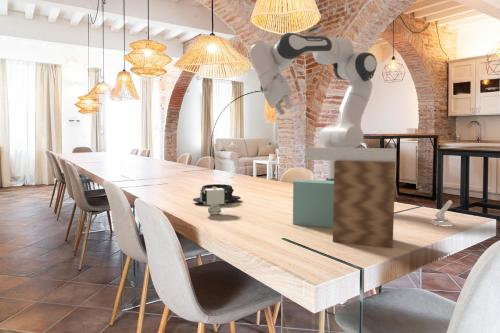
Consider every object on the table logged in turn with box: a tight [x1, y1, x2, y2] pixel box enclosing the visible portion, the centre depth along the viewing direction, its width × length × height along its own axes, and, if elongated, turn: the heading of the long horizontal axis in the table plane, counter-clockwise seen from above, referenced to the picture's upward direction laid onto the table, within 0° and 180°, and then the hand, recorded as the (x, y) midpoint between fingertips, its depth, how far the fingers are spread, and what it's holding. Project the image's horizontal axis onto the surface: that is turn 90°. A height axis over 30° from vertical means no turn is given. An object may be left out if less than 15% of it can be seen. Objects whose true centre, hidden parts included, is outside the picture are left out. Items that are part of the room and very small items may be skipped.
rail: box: [305, 146, 397, 163], centre depth 120 cm, size 28×4×4 cm, turn 68°
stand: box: [332, 161, 397, 249], centre depth 120 cm, size 18×10×26 cm, turn 68°
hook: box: [430, 199, 454, 226], centre depth 141 cm, size 8×12×7 cm
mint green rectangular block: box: [292, 179, 334, 229], centre depth 143 cm, size 17×8×16 cm, turn 69°
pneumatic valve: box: [199, 187, 229, 216], centre depth 161 cm, size 6×12×12 cm, turn 108°
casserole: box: [192, 183, 242, 204], centre depth 189 cm, size 25×19×8 cm
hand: (285, 111), depth 150 cm, fingers open, 8 cm apart
